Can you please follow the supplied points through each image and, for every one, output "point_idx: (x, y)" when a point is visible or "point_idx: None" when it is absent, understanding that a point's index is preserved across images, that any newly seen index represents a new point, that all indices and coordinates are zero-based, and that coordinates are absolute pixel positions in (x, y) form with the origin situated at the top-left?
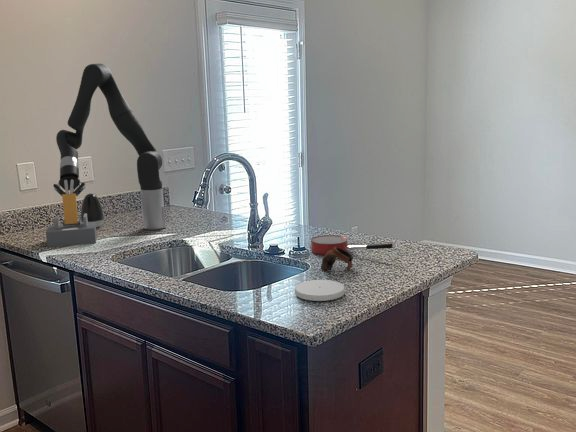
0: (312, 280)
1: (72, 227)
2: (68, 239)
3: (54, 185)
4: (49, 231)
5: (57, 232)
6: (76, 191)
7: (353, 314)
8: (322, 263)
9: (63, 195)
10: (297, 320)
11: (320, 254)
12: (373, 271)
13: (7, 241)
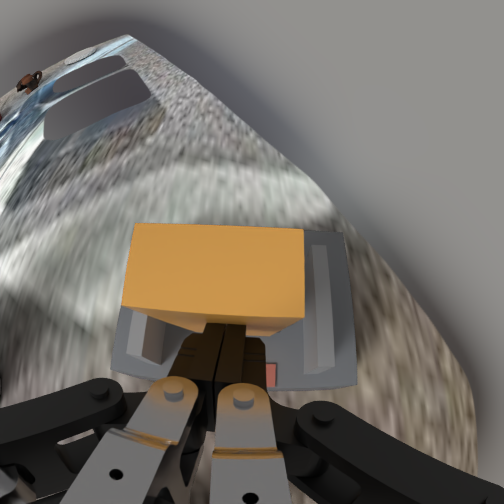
0: (71, 60)
1: None
2: None
3: (494, 493)
4: (330, 239)
5: None
6: (93, 385)
7: (93, 46)
8: (40, 76)
9: (284, 233)
10: (119, 39)
11: (1, 117)
12: None
13: (467, 399)
